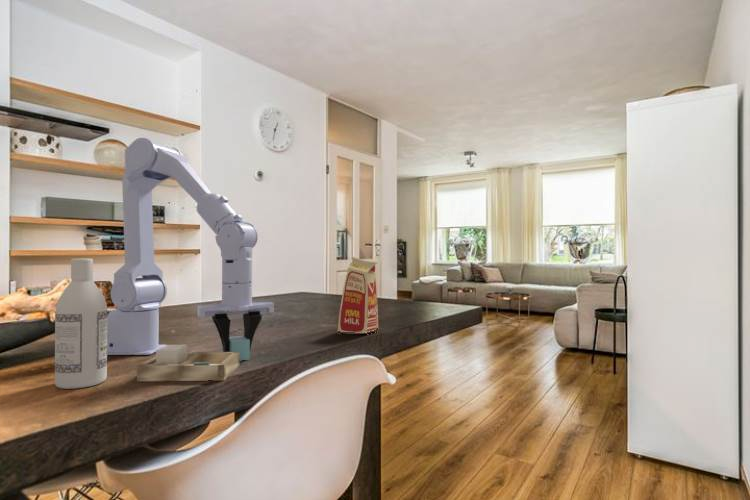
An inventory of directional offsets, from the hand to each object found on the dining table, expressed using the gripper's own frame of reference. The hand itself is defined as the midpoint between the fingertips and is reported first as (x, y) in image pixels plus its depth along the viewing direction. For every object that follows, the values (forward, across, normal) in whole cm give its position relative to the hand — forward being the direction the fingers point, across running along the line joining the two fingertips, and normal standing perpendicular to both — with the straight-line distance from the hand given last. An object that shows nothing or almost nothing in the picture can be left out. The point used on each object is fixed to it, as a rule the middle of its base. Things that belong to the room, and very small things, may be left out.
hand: (236, 351), depth 87 cm
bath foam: (+2, -26, -4) cm, 26 cm away
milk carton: (+2, +36, +12) cm, 38 cm away
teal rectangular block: (+1, 0, 0) cm, 1 cm away
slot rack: (+1, -10, -7) cm, 12 cm away
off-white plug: (+1, -12, -5) cm, 13 cm away
